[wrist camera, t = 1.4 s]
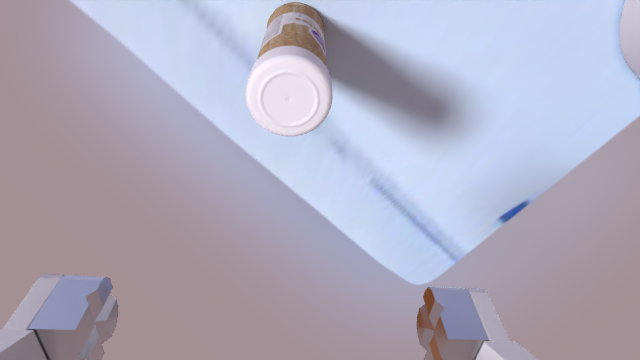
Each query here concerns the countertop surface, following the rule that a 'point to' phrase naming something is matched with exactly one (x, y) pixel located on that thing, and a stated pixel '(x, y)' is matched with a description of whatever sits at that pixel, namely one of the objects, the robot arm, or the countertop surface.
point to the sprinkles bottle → (291, 73)
